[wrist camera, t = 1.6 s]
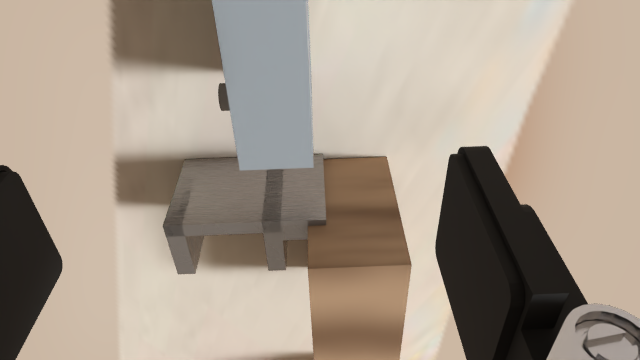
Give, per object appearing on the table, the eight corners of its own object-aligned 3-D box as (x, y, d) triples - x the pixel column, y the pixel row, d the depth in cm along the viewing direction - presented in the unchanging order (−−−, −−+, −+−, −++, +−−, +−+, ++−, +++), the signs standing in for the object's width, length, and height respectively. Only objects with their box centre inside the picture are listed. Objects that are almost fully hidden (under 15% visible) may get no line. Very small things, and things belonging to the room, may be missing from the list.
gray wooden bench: (184, 159, 30) (162, 226, 25) (322, 154, 30) (326, 219, 26) (196, 205, 33) (178, 274, 28) (324, 200, 33) (327, 268, 28)
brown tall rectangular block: (307, 159, 30) (307, 268, 23) (386, 156, 30) (411, 264, 23) (313, 267, 37) (315, 379, 30) (379, 264, 37) (397, 376, 30)
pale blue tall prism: (207, -143, 21) (157, -114, 14) (301, -147, 21) (299, -119, 14) (238, 73, 27) (215, 171, 20) (311, 70, 27) (313, 167, 20)
